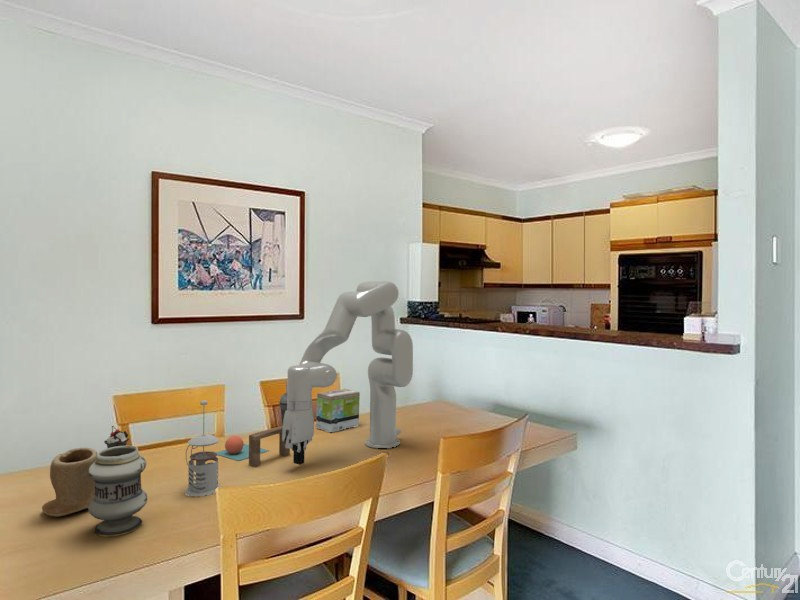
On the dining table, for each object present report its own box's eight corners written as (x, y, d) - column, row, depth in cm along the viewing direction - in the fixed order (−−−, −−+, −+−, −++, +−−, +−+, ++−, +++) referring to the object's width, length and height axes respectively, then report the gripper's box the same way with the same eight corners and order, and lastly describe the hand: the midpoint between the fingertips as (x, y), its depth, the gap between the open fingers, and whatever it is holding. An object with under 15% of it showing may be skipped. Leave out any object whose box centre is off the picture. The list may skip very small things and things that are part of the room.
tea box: (331, 433, 199) (332, 396, 199) (315, 428, 206) (316, 392, 206) (359, 426, 210) (360, 391, 210) (343, 422, 217) (344, 387, 217)
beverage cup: (293, 434, 197) (293, 383, 197) (275, 433, 198) (276, 382, 198) (300, 429, 204) (301, 380, 204) (283, 428, 205) (284, 379, 205)
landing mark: (244, 444, 183) (244, 443, 183) (269, 450, 176) (269, 450, 176) (213, 453, 172) (213, 453, 172) (238, 461, 165) (238, 460, 165)
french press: (199, 499, 134) (199, 405, 134) (172, 490, 141) (173, 400, 140) (229, 488, 143) (230, 399, 142) (203, 479, 149) (203, 394, 149)
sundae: (103, 479, 148) (103, 428, 148) (104, 471, 154) (104, 422, 154) (128, 475, 151) (129, 425, 151) (129, 468, 157) (129, 420, 157)
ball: (243, 431, 175) (249, 447, 174) (231, 438, 177) (237, 454, 176) (231, 434, 170) (237, 451, 168) (218, 441, 172) (224, 458, 170)
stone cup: (55, 526, 119) (55, 462, 118) (36, 512, 126) (36, 452, 126) (122, 504, 131) (122, 446, 131) (101, 493, 138) (101, 438, 138)
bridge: (248, 465, 161) (249, 435, 161) (283, 453, 174) (283, 425, 174) (255, 467, 160) (255, 436, 160) (289, 455, 172) (290, 426, 172)
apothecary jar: (77, 530, 117) (77, 452, 116) (128, 511, 127) (129, 439, 127) (106, 544, 110) (106, 462, 110) (157, 523, 120) (158, 448, 120)
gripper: (307, 399, 168) (306, 454, 168) (273, 407, 155) (272, 467, 155) (324, 402, 164) (323, 459, 164) (290, 411, 151) (290, 472, 151)
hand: (298, 463), depth 160 cm, fingers closed
